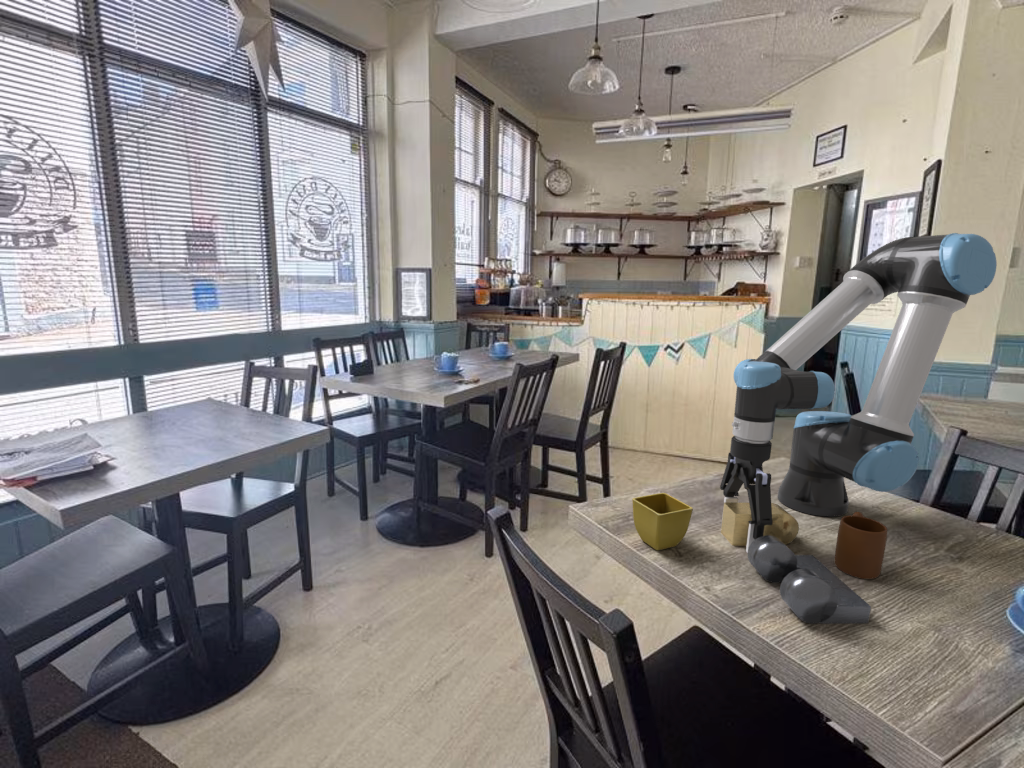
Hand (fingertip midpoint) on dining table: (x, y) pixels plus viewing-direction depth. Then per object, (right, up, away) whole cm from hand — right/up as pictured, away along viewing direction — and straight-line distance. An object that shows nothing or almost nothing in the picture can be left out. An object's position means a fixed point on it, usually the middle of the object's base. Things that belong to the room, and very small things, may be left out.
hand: (740, 538), depth 113 cm
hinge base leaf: (+2, -4, -19) cm, 20 cm away
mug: (+18, -3, -9) cm, 21 cm away
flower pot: (-18, -1, -2) cm, 18 cm away
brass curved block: (+4, 0, 0) cm, 4 cm away
